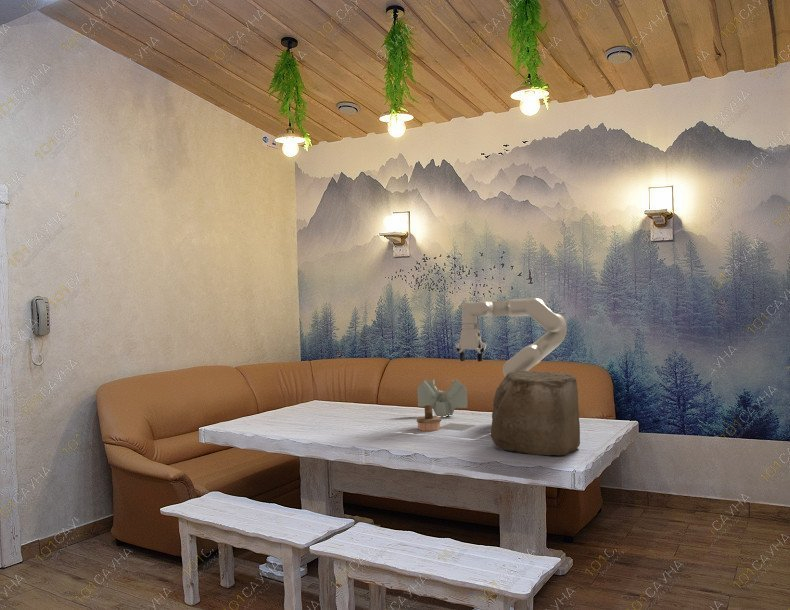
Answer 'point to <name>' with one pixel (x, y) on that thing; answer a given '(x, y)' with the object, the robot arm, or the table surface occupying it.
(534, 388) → the stone block
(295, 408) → the table surface
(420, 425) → the bowl
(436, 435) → the table surface
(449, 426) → the trivet
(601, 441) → the table surface
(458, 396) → the bracket
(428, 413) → the lid
